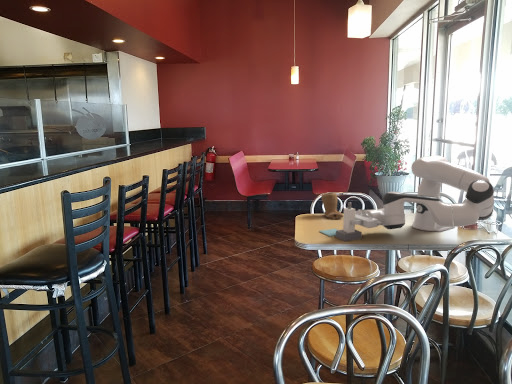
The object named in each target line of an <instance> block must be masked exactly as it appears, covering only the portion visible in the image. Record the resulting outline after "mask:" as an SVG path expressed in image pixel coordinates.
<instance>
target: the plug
mask: <svg viewBox="0 0 512 384" xmlns="http://www.w3.org/2000/svg"><path fill="white" fill-rule="evenodd" d="M355 211H356V208H355V207H354V208H353V207H352V202H347V207H344V208H343V228H342V230H343V231H344V232H346V233H351V232H355V230H356V228H355V227H356V225H355V224H354V225H352V224H350V221H352V220H354V221H355Z"/></svg>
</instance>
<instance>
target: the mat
mask: <svg viewBox="0 0 512 384" xmlns="http://www.w3.org/2000/svg"><path fill="white" fill-rule="evenodd" d="M337 230H338V229H337V228H331V229H330V228H329V229H324V230H323V229H321V230H319V231H318V232H319V233H321V234H323V235H325V236H328V237H330V238H331V237H336V231H337Z"/></svg>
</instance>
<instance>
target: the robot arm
mask: <svg viewBox="0 0 512 384" xmlns="http://www.w3.org/2000/svg"><path fill="white" fill-rule="evenodd" d="M411 172H412V174H413V175H414V176H415V177H417V178H420V179H422V180H421V182H420V183H419V185H418V186H417V194H411V193H410V194H409V193H402V192H399V191H388V192H386V193H385V194H384V195H383V196H382V198H381V199H382V205H383V208H378V209H357V210H355V221H354V220H352V221H350V224H352V225H354V224H355V226H357V225H358V226H361V227H364V228H366V229H372V228H377V227H379V226H382V227H383V228H385V229H387V230H395V229H401V228H403V227H404V226H405V224H406V215H405V214H406V213H405V203H413V204H415V213H414V214H415V215H414V219H413V222H412V228H414V229H417V230H421V231H427V232H428V231H430V232H431V231H432V232H444V231H447V230H451V229H454V228H456V227H465V226H471V225H475V224H477V223H478V221H486V220H488V219H490V218H491V216H492V214H493V212H494V204H495V196H494V193H495V190H494V186H493V184H492V183H491V182H490V179H489V178H488V177H487V176H485V175H484V174H482V173H480V172H477V171H475V170H473V169H470V168H467V167H464V166H463V165H462V166H461V165H459V164H456V163H451V162H449V160H448V159H447V158H446V157H444V156H441V155H436V154H435V155H430V156H422V157H420V158H418V159H416V160H415V161H413V163H411ZM442 184H444V185H447V186H450V187H452V188H455V189H458V190H460V191H463V192H466V194H465V198H466V200H465V201H463V202H460V203H459V202H457V203H456V202H455V203H446V202H443V201H441V199H440V198H441V188H442Z"/></svg>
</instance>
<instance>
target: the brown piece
mask: <svg viewBox="0 0 512 384" xmlns="http://www.w3.org/2000/svg"><path fill="white" fill-rule="evenodd" d="M321 202H322V204H323V206H324V213H323V215H324V216H326V217H327V218H329V219H331V220H332V219H333V220H339V219H342V218H344V214H342V213H341V212H340V211H339V210H338V209H337V208H338V194H337V193H336V192H334V191H333V192H325V193H321Z"/></svg>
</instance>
